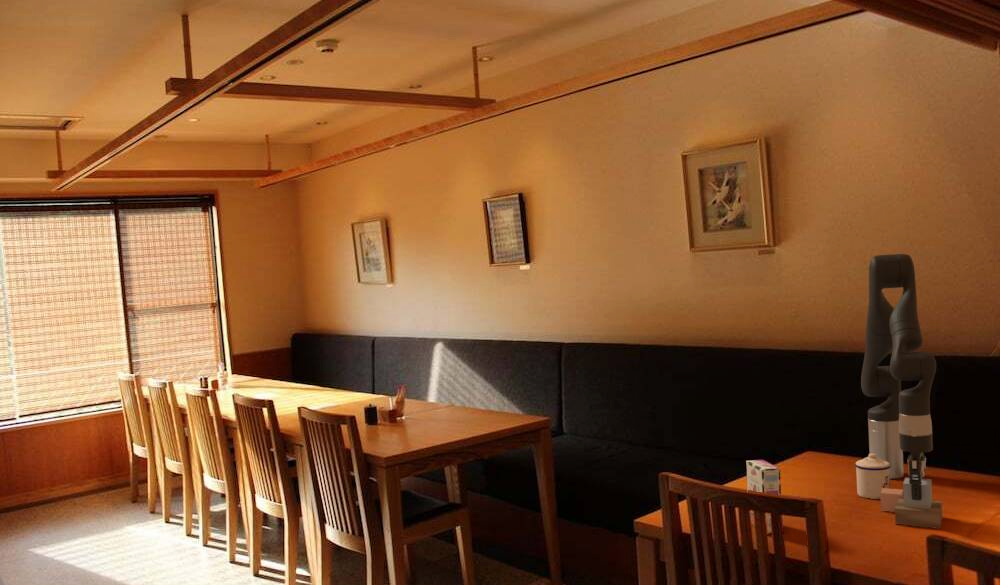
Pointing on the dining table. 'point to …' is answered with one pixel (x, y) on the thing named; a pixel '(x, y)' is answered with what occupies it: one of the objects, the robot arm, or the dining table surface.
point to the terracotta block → (890, 498)
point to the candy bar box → (763, 481)
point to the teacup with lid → (872, 476)
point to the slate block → (926, 494)
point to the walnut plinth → (919, 515)
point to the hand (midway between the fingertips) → (918, 495)
